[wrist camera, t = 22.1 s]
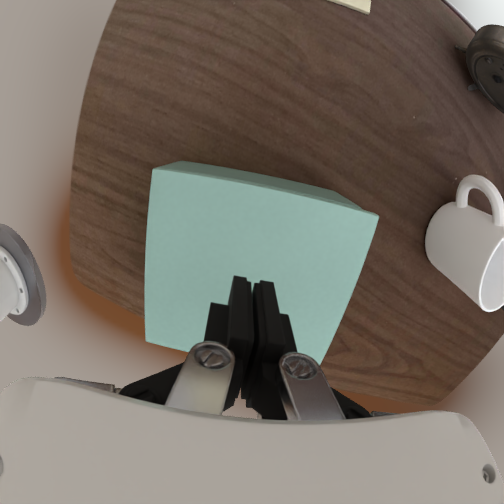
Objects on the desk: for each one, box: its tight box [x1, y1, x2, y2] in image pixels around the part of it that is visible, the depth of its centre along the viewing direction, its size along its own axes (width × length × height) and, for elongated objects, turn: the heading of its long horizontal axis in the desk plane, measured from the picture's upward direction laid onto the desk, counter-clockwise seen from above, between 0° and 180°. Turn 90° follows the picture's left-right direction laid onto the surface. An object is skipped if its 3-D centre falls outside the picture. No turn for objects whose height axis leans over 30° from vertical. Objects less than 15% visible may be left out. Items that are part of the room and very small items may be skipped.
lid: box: [145, 167, 379, 365], centre depth 19 cm, size 15×14×1 cm
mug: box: [425, 175, 504, 312], centre depth 20 cm, size 12×8×10 cm
